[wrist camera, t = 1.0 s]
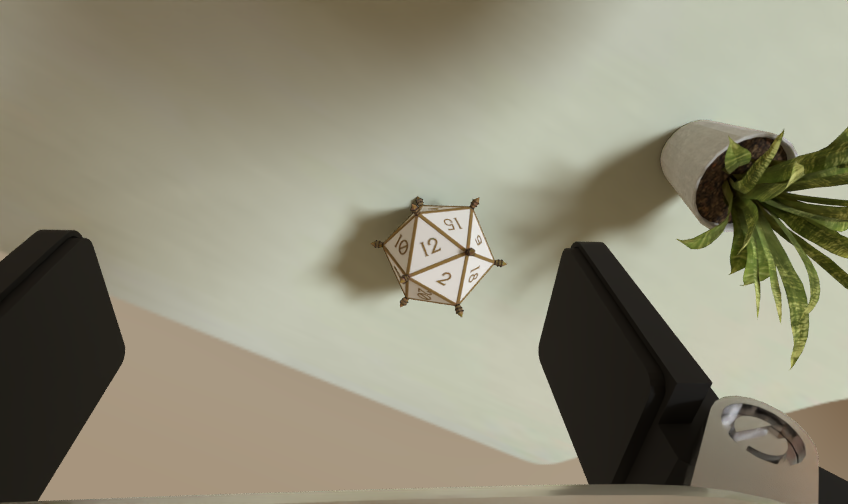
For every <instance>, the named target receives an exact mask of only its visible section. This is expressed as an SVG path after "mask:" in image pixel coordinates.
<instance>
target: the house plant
mask: <svg viewBox="0 0 848 504" xmlns="http://www.w3.org/2000/svg"><path fill="white" fill-rule="evenodd" d="M783 134H784V130H783V132H782V133H781V134H780V135H777V134H773V133H769V132H764V131H759V130H754V129H750V128H745V127H740V126H735V125H730V124H725V123H720V122H715V121H710V120H698V121H694V122H690V123H688V124H686V125H684V126H682V127H681V128H680V129H678V130H677V131H676V132H675V133H673V135H672V136H671V137H670V138H669V139H668V141H667V142H666V144H665V146H664V148H663V150H662V153H661V157H660V161H661V167H662V170H663V173H664V175H665V177H666V178H667V180H668V181H669V182H670V184H671V185H672V186H673V188H674V189H675V190H676V192H677V193H678V194H679V196H680V197H681V198H682V200H683V201H684V202H685V203H686V205H687V206H688V207H689V209H690V210H691V211H692V213H693V214H694V215H695V217H696V218H697V219H698V221H699V222H700V223H701V224H702V225H704V226H706V227H707V228H709V229H710V230H708V231H706V232H705V233H703V234H701V235H699V236H697V237H695V238H693V239H688V240H683V241H682V240H678V239H677V240H678V241H680V242H682V243H683V244H685V245H686V246H687V247H689V248H690V249H700V248H704V247H706V246H708V245H709V244H711V243H712V242H713V241H714V240H716V239H717V238H718V237H719V236H720V235H721V233H722V232H732V231H734V237H733V243H732V249H731V254H730V264H731V273H730V274H732V273H735V272H737V271H739V270H741V269H743V268H745V271H744V275H743V282H744V285H748V284H752V283H755V291H756V305H757V318H758V312H759V302H760V281H763V280H765V279H766V278H768V277H770V282H771V288H772V292H773V295H774V299H775V302H776V307H777V311H778V315H779V320H780V323H781V315H782V312H781V306H782V304H781V292H780V288H779V283H778V278H777V272H776V267H777V269H778V271H779V274H780V276H781V279H782V282H783V285H784V288H785V291H786V295H787V299H788V304H789V309H790V319H791V327H792V333H793V339H794V348H793V352H792V356H791V368H792V367H793V366H794V364H795V363H796V361H797V359H798V358H799V356H800V355H801V353H802V351H803V348H804V346H805V343H806V340H807V337H808V329H809V313H810V312H811V311H812V310H813V308H814V307H815V305H816V304H817V302H818V300H819V295H820V284H819V278H818V275H817V272H816V270H815V268H814V266H813V264H812V262H811V261H810V259H809V258H808V256H809V257H810V258H812V259H813V260H814V261H815V262H816V263H818V264H819V265H820V266H821V267H822V268H823V269H825V270H826V271H827V272H828V273H829V274H830V275H831V276H832V277H834V278H835V279H836V280H837V281H838V282H839V283H840V284H842V285H843V286H844V287H845V288H847V289H848V274H847V273H846V272H845V271H844V270H842V269H841V268H840V267H839V266H838V265H837V264H836V263H835V262H833V261H832V260H831V259H830V258H829V257H827V256H826V255H824V254H823V253H821V252H820V251H818V250H817V249H815V248H814V247H813V246H811V245H810V244H809V243H807V242H806V241H804V240H803V239H802V238H800V237H799V236H797V235H796V234H795V233H793V232H792V231H790V230H789V229H787V228H786V227H785V225H784V224H783V223H782V222H781V221H780V219H782V220H783V221H784V222H785V223H786V224H787V225H788V226H789V227H790V228H791V229H792V230H793V231H795V232H796V233H798V234H799V235H801V236H802V237H804V238H806V239H808V240H810V241H811V242H813V243H815V244H817V245H818V246H820V247H822V248H824V249H826V250H827V251H829V252H831V253H833V254H836V255H838V256H841V257H844V258H848V238H847V237H845V236H842V235H840V234H839V233H838V232H837V231H840V232H842V231H845V230H847V229H848V200H838V199H828V198H819V197H811V196H803V195H796V194H791V193H790V192H791V191H797V190H804V189H810V188H817V187H830V186H838V185H845V184H848V127H847V128H846V129H845V130H844V132H843V133H842V134H841V135H840V136H839V137H837V138H836V139H835V140H834V141H833V142H832V143H831V144H830V145H829V146H827V147H826V148H823V149H821V150H819V151H817V152H813V153H809V154H805V155H801V156H798V154H797V152H796V150H795V148H794V146H793V145H792V143H791V142H789V141H788V140H787V139H786V138H784V137H783ZM797 200H799V201H797ZM800 201H804V202H810V203H818V204H826V205H838V206H847V207H833V206H822V205H813V204H806V203H803V202H800ZM779 218H780V219H779ZM772 229H773V230H774V231H776V232H777V233H778V234H779V235H780V236H782V237H783V238H784V239H786V240H787V241H788V242H790V243H791V244H792V245H794V247H795V248H796V250H797V252H798V253H799V255H800V257H801V259H802V260H803V262H804V264H805V267H806V269H807V272H808V275H809V281H810V293H811V297H810V302H809V304H808V303H807V297H806V294H805V290H804V286H803V283H802V282H801V280H800V278H799V277H798V275H797V273H796V272H795V270H794V268H793V266H792V264H791V262H790V260H789V258H788V256H787V254H786V252H785V251H784V249H783V247H782V245H781V244H780V242H779V240H778V239H777V237H776V235H775V234H774V232H773V230H772ZM806 254H807V255H808V256H807V255H806ZM744 285H741V286H744ZM791 368H790V369H791Z"/></svg>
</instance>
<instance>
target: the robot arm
mask: <svg viewBox="0 0 848 504" xmlns="http://www.w3.org/2000/svg"><path fill="white" fill-rule="evenodd" d="M124 355H125V345H124V342H123V339H122V335H121V332H120V329H119V326H118V323H117V320H116V317H115V313H114V310H113V307H112V304H111V301H110V297H109V294H108V291H107V288H106V285H105V282H104V279H103V275H102V272H101V269H100V266H99V263H98V260H97V257H96V253H95V250H94V247H93V245H92V242H91V241H90V240H89V239H87V238H83V237H82V235H81V234H80V233H79V232H77V231H75V230H39V231H37V232H35V233H34V234H33V235H32V236H31V237H29V238H28V239H27V240H26V241H25V242H23V243H22V244H21V245H20V246H19V247H17V248H16V249H15V250H14V251H12V252H11V253H10V254H9V255H8V256H6V257H5V258H4V259H3V260H2V261H1V262H0V504H848V481H846V480H844V479H842V478H840V477H838V476H836V475H834V474H832V473H830V472H828V471H826V470H824V469H823V468H821V467H819V458H818V454H817V450H816V446H815V444H814V443H813V442H812V440H811V438H810V437H809V435H808V434H807V433H806V432H805V431H804V430H803V429H802V428H801V427H800V426H799V425H798V424H797V423H796V422H795V421H794V420H792V419H791V418H790V417H788V416H787V415H786V414H784V413H783V412H781V411H779V410H778V409H776V408H774V407H772V406H770V405H768V404H766V403H763V402H760V401H758V400H755V399H752V398H747V397H741V396H728V397H723V398H721V399H719V398H718V397H717V395H716V394H715V393H714V391H713V390H712V389H711V388H710V387H711V385H712V382H711V380H710V379H709V378H708V376H707V375H706V374H705V373H704V371H703V370H702V369H701V367H700V366H699V365H698V364H697V362H696V361H695V360H694V358H693V357H692V356H691V354H690V353H689V352H688V351H687V349H686V348H685V347H684V345H683V344H682V343H681V342H680V340H679V339H678V338H677V336H676V335H675V334H674V333H673V331H672V330H671V329H670V327H669V326H668V325H667V324H666V322H665V321H664V320H663V318H662V317H661V316H660V314H659V313H658V312H657V311H656V309H655V308H654V307H653V305H652V304H651V303H650V302H649V300H648V299H647V298H646V296H645V295H644V294H643V293H642V291H641V290H640V289H639V287H638V286H637V285H636V284H635V282H634V281H633V280H632V278H631V277H630V276H629V274H628V273H627V272H626V271H625V269H624V268H623V267H622V265H621V264H620V263H619V262H618V260H617V259H616V258H615V256H614V255H613V254H612V253H611V251H610V250H609V249H608V247H607V246H606V245H605V244H604V243H602V242H575V243H573V245H572V246H571V248H566V249H564V251H563V253H562V256H561V260H560V264H559V268H558V272H557V276H556V280H555V284H554V288H553V291H552V295H551V299H550V303H549V307H548V311H547V315H546V319H545V323H544V327H543V331H542V335H541V339H540V343H539V359H540V363H541V365H542V368H543V370H544V373H545V375H546V378H547V380H548V383H549V385H550V388H551V390H552V393H553V395H554V398H555V400H556V403H557V405H558V408H559V411H560V413H561V416H562V418H563V421H564V423H565V426H566V428H567V431H568V433H569V436H570V438H571V441H572V443H573V446H574V448H575V451H576V453H577V456H578V458H579V461H580V463H581V466H582V468H583V471H584V473H585V476H586V478H587V481H588V484H589V485H529V486H528V485H526V486H488V487H452V488H451V487H450V488H413V489H379V490H347V491H316V492H315V491H314V492H283V493H253V494H222V495H192V496H167V497H139V498H112V499H86V500H61V501H60V500H59V501H38V500H39V498H40V496H41V495H42V493H43V491H44V490H45V488H46V486H47V485H48V483H49V482H50V480H51V478H52V477H53V475H54V473H55V472H56V470H57V469H58V467H59V465H60V464H61V462H62V460H63V459H64V457H65V455H66V454H67V452H68V451H69V449H70V447H71V446H72V444H73V443H74V441H75V439H76V438H77V436H78V434H79V433H80V431H81V429H82V428H83V426H84V425H85V423H86V421H87V420H88V418H89V416H90V415H91V413H92V412H93V410H94V408H95V407H96V405H97V403H98V402H99V400H100V398H101V397H102V395H103V394H104V392H105V390H106V389H107V387H108V386H109V384H110V382H111V381H112V379H113V377H114V376H115V374H116V373H117V371H118V369H119V367H120V366H121V364H122V362H123V360H124Z"/></svg>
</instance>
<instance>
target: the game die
mask: <svg viewBox="0 0 848 504" xmlns="http://www.w3.org/2000/svg"><path fill="white" fill-rule="evenodd" d="M416 203H417V205H418V206H419V207H418V206H417V205H414V204H412V207H411V211H412V214H411V216H410V217H409V218H408V219H407V220H406V221H405V222H404V223H403V224H402V225H401V226H400V227H399V228H398V229H397V230H396V231H395V232H394V233H393V234H392V235H391V236H390V237H389V238H388V239H387V240H386V241H385V242H384V243H382V242H380V241H377V240H376V241H375V242H372V243H371V244H372V245H373V246H374V247H375V248H376V247H378V248H380V247H383V249H384V251H385V253H386V256H387V258H388V260H389V262H390V264H391V267H392V269H393V271H394V273H395V275H396V278H397V280H398V282H399V284H400V286H401V289H402V291H403V293H404V295H405V297H404V298H402V300H401V301H400V307H402V306H404V305H406V304H407V303H408V299H413V300H420V301H426V302H433V303H439V304H446V305H452V306H455V311H456V314H458V315H459V316H461V317H462V314H463V311H464V310H462V307H461V306H460V303H461V302H462V301H463V300H464V299H465V298H466V296H467V295H468V294H469V293H470V292H471V291H472V289H473V288H474V287H475V286H476V285H477V284H478V282H479V281H480V280H481V279H482V278H483V277H484V275H485V274H486V273H487V272H488V271H489V270H490V268H491V267H492V266H493V265H496V266H497V267H498V266H500V267H502V266H504V265H506V263H505V262H504V261H503V260H499V259H498V260H494V258H493V255H492V253H491V250H490V248H489V245H488V243H487V241H486V238H485V236H484V233H483V231H482V229H481V226H480V224H479V221H478V219H477V217H476V214H475V212H474V208H475V207H477V205H478V204H479V198H476V199H474V200H473V201H472V202H471V205H470V206H469V207H468V206H433V205H423V203H424V202H423V199H421V198H419V197H417V200H416Z"/></svg>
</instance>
